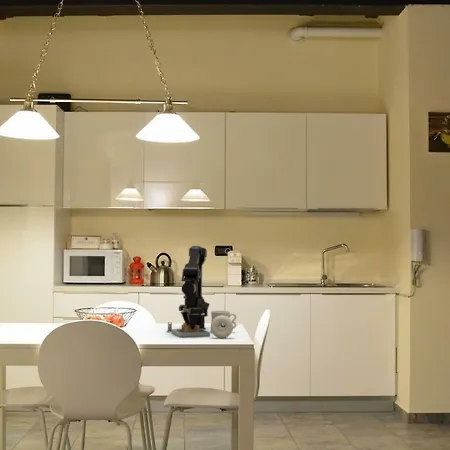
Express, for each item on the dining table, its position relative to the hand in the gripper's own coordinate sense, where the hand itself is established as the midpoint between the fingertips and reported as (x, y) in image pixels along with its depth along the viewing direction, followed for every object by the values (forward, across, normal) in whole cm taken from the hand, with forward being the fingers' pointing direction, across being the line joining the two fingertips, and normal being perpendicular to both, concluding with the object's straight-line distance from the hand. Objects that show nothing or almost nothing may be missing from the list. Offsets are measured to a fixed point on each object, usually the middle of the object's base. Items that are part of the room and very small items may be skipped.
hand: (190, 328), depth 303 cm
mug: (+3, +5, -18) cm, 19 cm away
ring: (+2, 0, 0) cm, 2 cm away
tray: (+3, 0, 0) cm, 3 cm away
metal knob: (+3, +13, +6) cm, 15 cm away
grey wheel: (+3, -14, -10) cm, 18 cm away
